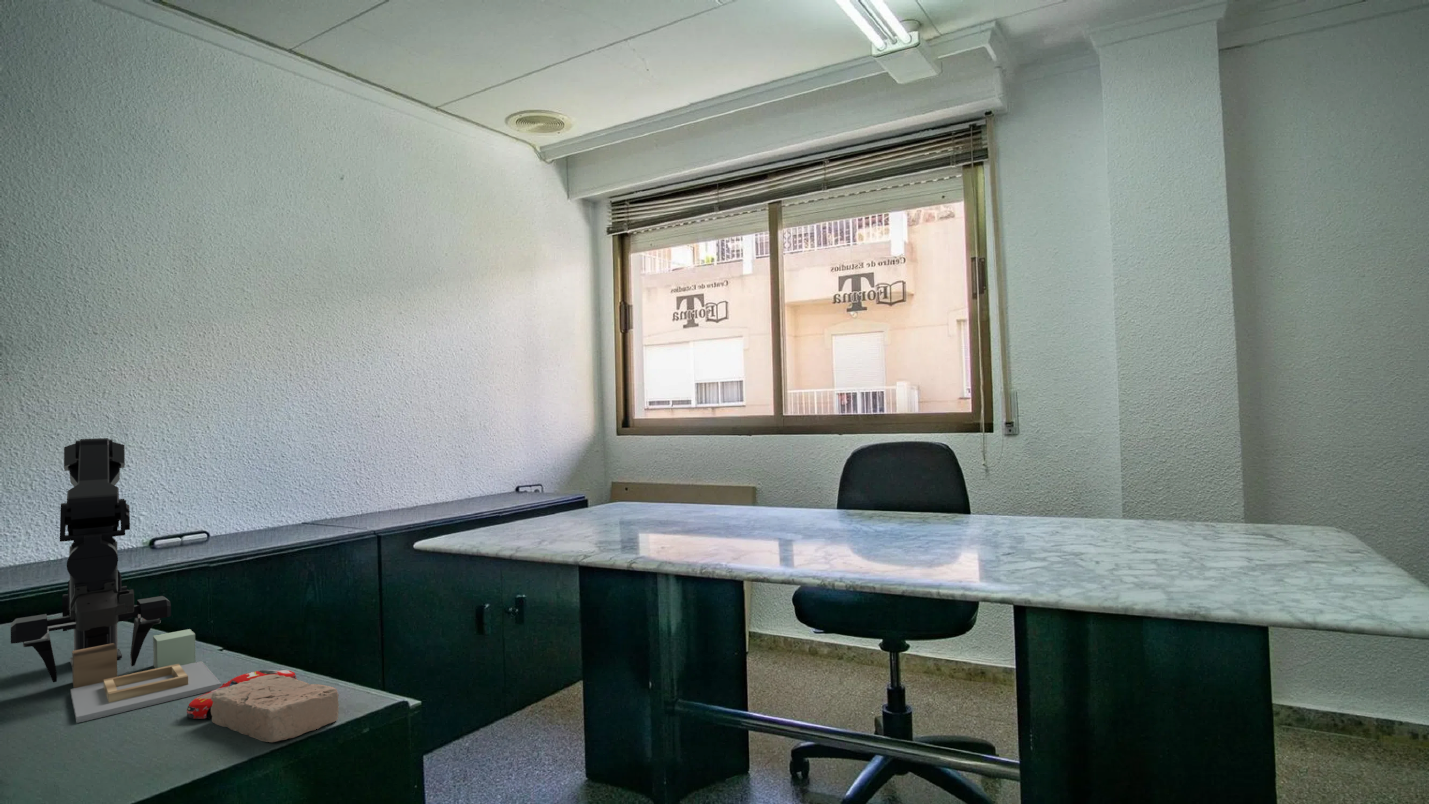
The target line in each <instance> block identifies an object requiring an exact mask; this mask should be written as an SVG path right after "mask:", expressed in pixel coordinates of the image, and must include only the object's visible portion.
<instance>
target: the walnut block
mask: <svg viewBox="0 0 1429 804" xmlns="http://www.w3.org/2000/svg"><path fill="white" fill-rule="evenodd" d="M71 654H72V655H71V658H72V667H71V668H72V685H73V688H78V687H83V686H87V685H92V684H97V683H101V682H103V680H104V679H109V678H114V677H118V659H117V648H116V646H115V644H114V643H112V644H106V645H101V646H96V647H90V648H85V649H80V650H74V649H73V650H72V651H71Z"/></svg>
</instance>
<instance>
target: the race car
mask: <svg viewBox="0 0 1429 804" xmlns="http://www.w3.org/2000/svg"><path fill="white" fill-rule="evenodd" d="M273 674H275V675H279V676H285V677H291V678H294V679H297V674H296V673H295V672H294V671H292V670H288V669H282V670H274V669H273V670H272V669H265V670H264V669H263V670H262V669H261V670H255V671H251V672H248V673H243V674H240V675H237V676H235V677H233V678H231V679H230V680H228V681H227V682H222V684H221V687H220V688H218V689H216V690H213V691H209V692H205V693H202V694H200V696H197V697H195V698H193V700H191V701H190V703H189V704H188V705H187V708H186V717H188V718H190V719H195V720H200V719H201V720H202V719H208V720H210V721H212V717H213V716H212V715H211V707H212V704H213V701H212V700H211V697H212V694H213V693H214V692H215V691H217V690H221V689H224V688H227V687H230V686H232V685H236V684H238V683H240V682H244V681H249V680H250V679H253V678H257V677H260V676H265V675H273ZM297 680H298V679H297Z"/></svg>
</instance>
